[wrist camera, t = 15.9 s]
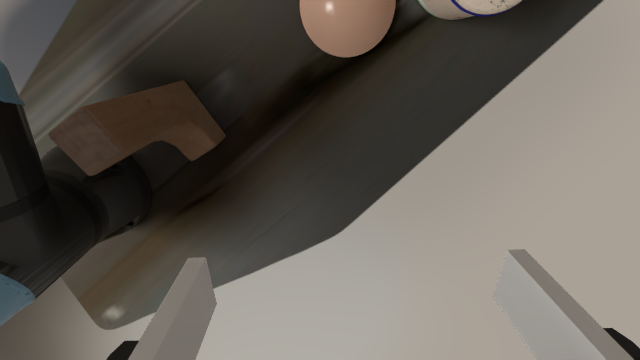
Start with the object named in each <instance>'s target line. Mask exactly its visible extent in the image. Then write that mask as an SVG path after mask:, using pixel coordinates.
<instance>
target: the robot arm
mask: <svg viewBox="0 0 640 360" xmlns="http://www.w3.org/2000/svg"><path fill="white" fill-rule="evenodd" d="M23 105H25V104H24V101H23V100H22V99H20V98H19V96H18V94H17V91H16V89H15V86H14V84H13V81H12V79H11V76H10V74H9V71H8V69H7V67H6V66H5V65H4V64H3V63H2V62H1V61H0V326H1V325H2V324H4V323H5V322H6V321H7V320H9V319H10V318H11V317H12V316H14V315H15V314H16V313H18V312H19V311H20V310H21V309H23V308H24V307H26V306H29V305H30V304H31V303H32V302H33V301H34V300H35V299H36V298H37V297H38V296H39V295H40V294H42V293H43V292H44V291H45V290H46V289H47V288H48V287H49V286H50V285H51V284H52V283H54V282H55V281H56V280H57V279H58V278H59V277H60V276H61V275H62V274H64V273H65V272H66V271H67V270H68V269H69V268H70V267H71V266H72V265H73V264H75V263H76V262H77V261H78V260H79V259H80V258H81V257H82V256H83V255H84V254H86V253H87V252H88V251H89V250H90V249H91V248H92V247H93V246H94V245H96V244H97V243H100V242H102V241H105V240H107V239H110V238H112V237H114V236H117V235H119V234H122V233H124V232H126V231H128V230H130V229H132V228H133V227H134V226H135V225H137V224H138V223H139V222H140V221H141V220H142V219H143V218H144V217H145V215H146V214H147V212H148V211H149V208H150V205H151V189H150V185H149V182H148V180H147V178H146V176H145V174H144V172H143V171H142V169H141V168H140V167H139V166H138V164H137V163H136V162H135V161H134V160H133V159H132V158H131V157H129V156H127V157H126V158H124V159H122V160H120V161H119V162H117V163H115V164H114V165H112V166H110V167H108V168H107V169H105V170H103V171H101V172H100V173H98V174H96V175H92V176H89V175H87V174H86V173H85V172H84V171H83V170H82V169H81V168H80V167H79V166H78V165H77V164H76V163H75V162H74V161H73V160H72V159H71V158H70V157H69V156H68V155H67V154H66V153H65V152H64V151H63V150H62V149H61V148H60V147H59V146H57V147H55V148H53V149H51V150H50V151H48V152H47V153H46V154H45V155H44V156H43V157H42V159H40V157H39V154H38V151H37V148H36V145H35V142H34V139H33V136H32V133H31V130H30V127H29V124H28V121H27V117H26V114H25V111H24V108H23ZM493 298H494V299H495V300H496V302H497V303H498V305H499V306H500V308H501V309H502V311H503V312H504V313H505V315H506V316H507V318H508V319H509V321H510V322H511V324H512V325H513V327H514V328H515V329H516V331H517V332H518V334H519V335H520V337H521V338H522V340H523V341H524V342H525V344H526V345H527V347H528V348H529V350H530V351H531V353H532V354H533V356H534V357H535V359H536V360H640V348H639V347H637V346H636V345H635V344H634V343H633V342H632V341H631V340H629V339H628V338H626V337H625V336H623V335H622V334H620V333H619V332H617V331H616V330H614V329H613V328H602V327H601V326H600V325H599V324H598V323H597V322H596V321H595V320H594V319H593V318H592V317H591V316H590V315H589V314H588V313H587V312H586V311H585V310H584V309H583V308H582V307H581V306H580V305H579V304H578V303H577V302H576V301H575V300H574V299H573V298H572V297H571V296H570V295H569V294H568V293H567V292H566V291H565V290H564V289H563V288H562V287H561V286H560V285H559V284H558V283H557V282H556V281H555V280H554V279H553V278H552V277H551V276H550V275H549V274H548V273H547V272H546V271H545V270H544V269H543V268H542V267H541V266H540V265H539V264H538V262H537V261H536V260H535V259H534V258H533V257H532V256H531V255H530V254H528V252H527V251H525V250H524V249H523V250H507V251H506V255H505V258H504V261H503V265H502V268H501V272H500V276H499V278H498V282H497V285H496V289H495V292H494V295H493ZM216 304H217V303H216V299H215V295H214V291H213V286H212V282H211V278H210V273H209V269H208V265H207V260H206V258H188V259H187V261H186V263H185V264H184V266H183V268H182V270H181V271H180V273H179V275H178V276H177V278H176V280H175V281H174V283H173V285H172V286H171V288H170V290H169V291H168V293H167V295H166V296H165V298H164V300H163V302H162V303H161V305H160V307H159V308H158V310H157V312H156V313H155V315H154V317H153V318H152V320H151V322H150V324H149V325H148V327H147V328H146V330H145V332H144V334H143V336H142V337H141V339H140V340H139V341H124V342H123V343H122V344H121V345H120V346H119V347H118V348H117V349H116V350H114V352H112V353H111V354H110V355H109V357H108V358H107V360H195V359H196V356H197V354H198V351H199V348H200V346H201V343H202V341H203V338H204V335H205V333H206V330H207V327H208V325H209V322H210V320H211V317H212V315H213V312H214V309H215V307H216Z"/></svg>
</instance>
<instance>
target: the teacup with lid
mask: <svg viewBox="0 0 640 360" xmlns="http://www.w3.org/2000/svg"><path fill="white" fill-rule="evenodd" d="M422 1H423V3H424V5H425V6H426V7H427V9H428V10H429V11H430V12H431V13H433V14H434V15H436V16H438V17H440V18H443V19H460V18H466V17H471V16H493V15H497V14H500V13H503V12H505V11H507V10H509V9H511V8H513V7H514V6H516V5H517V4H519V3H520V2H521V1H522V0H422Z"/></svg>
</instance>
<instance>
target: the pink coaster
mask: <svg viewBox="0 0 640 360" xmlns="http://www.w3.org/2000/svg"><path fill="white" fill-rule="evenodd" d="M395 4H396V0H300V14H301V19H302V22H303V26H304V28H305V30H306V32H307V34H308V36H309V37H310V39H311V40H312V41H313V42H314V43H315V44H316V45H317V46H318V47H319V48H320V49H322V50H323V51H325V52H327V53H328V54H331V55H334V56H338V57H354V56H358V55H361V54H363V53H365V52H367V51H369V50H370V49H372V48H373V47H375V46H376V45H377V44H378V43H379V42H380V41H381V40H382V38H383V37H384V36H385V34H386V33H387V31H388V29H389V27H390V25H391V22H392V20H393V16H394V12H395Z"/></svg>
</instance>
